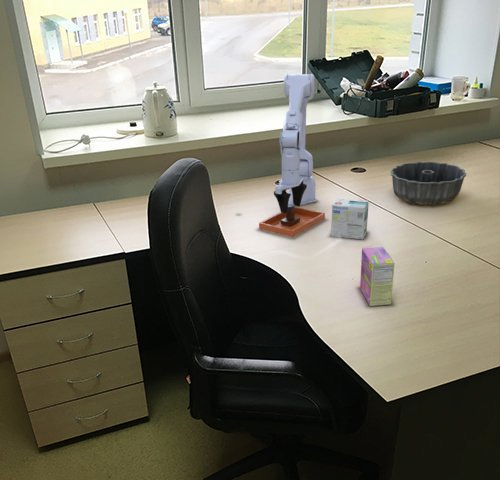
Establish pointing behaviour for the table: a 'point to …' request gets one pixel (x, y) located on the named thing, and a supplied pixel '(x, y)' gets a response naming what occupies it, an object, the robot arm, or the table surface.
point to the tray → (306, 221)
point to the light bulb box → (349, 218)
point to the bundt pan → (427, 182)
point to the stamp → (290, 217)
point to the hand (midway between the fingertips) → (290, 209)
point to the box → (376, 276)
